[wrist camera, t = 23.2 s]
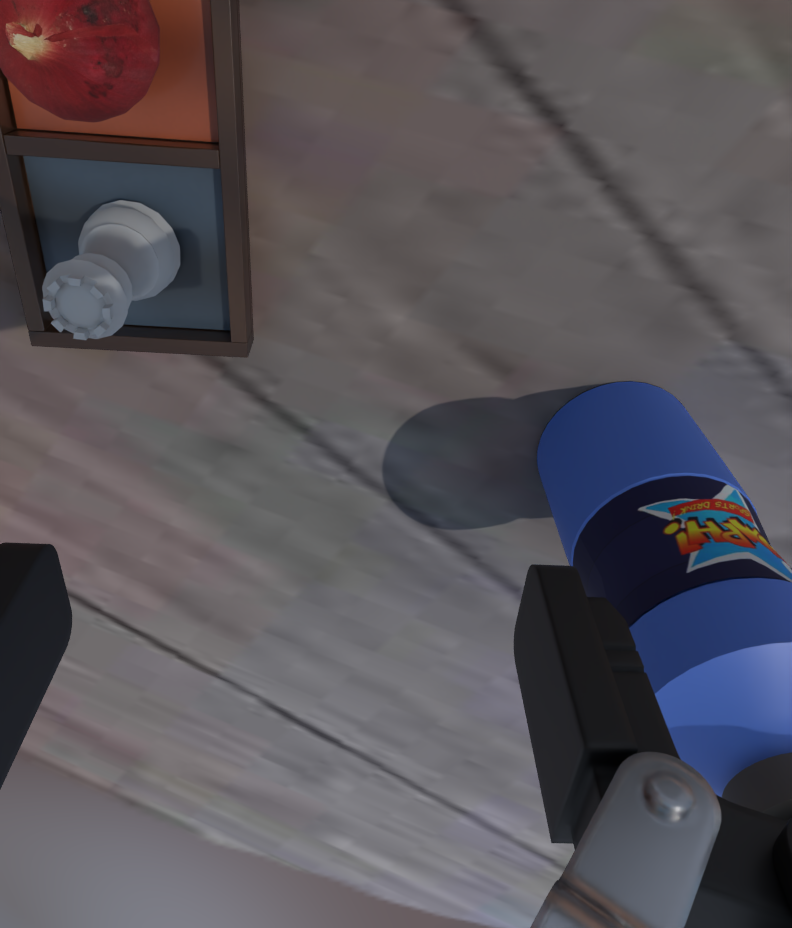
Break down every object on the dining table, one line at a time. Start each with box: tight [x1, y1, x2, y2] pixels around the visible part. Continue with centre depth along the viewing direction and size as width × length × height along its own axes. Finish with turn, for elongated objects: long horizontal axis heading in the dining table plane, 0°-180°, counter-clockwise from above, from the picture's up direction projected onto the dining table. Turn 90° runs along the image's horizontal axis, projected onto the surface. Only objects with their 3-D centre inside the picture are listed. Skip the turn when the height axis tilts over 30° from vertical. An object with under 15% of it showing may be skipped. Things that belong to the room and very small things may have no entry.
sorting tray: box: [0, 0, 254, 357], centre depth 32 cm, size 19×11×2 cm, turn 176°
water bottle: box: [537, 381, 792, 821], centre depth 32 cm, size 9×9×25 cm
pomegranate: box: [0, 0, 160, 123], centre depth 26 cm, size 6×6×8 cm
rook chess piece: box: [42, 200, 180, 340], centre depth 31 cm, size 4×4×8 cm
